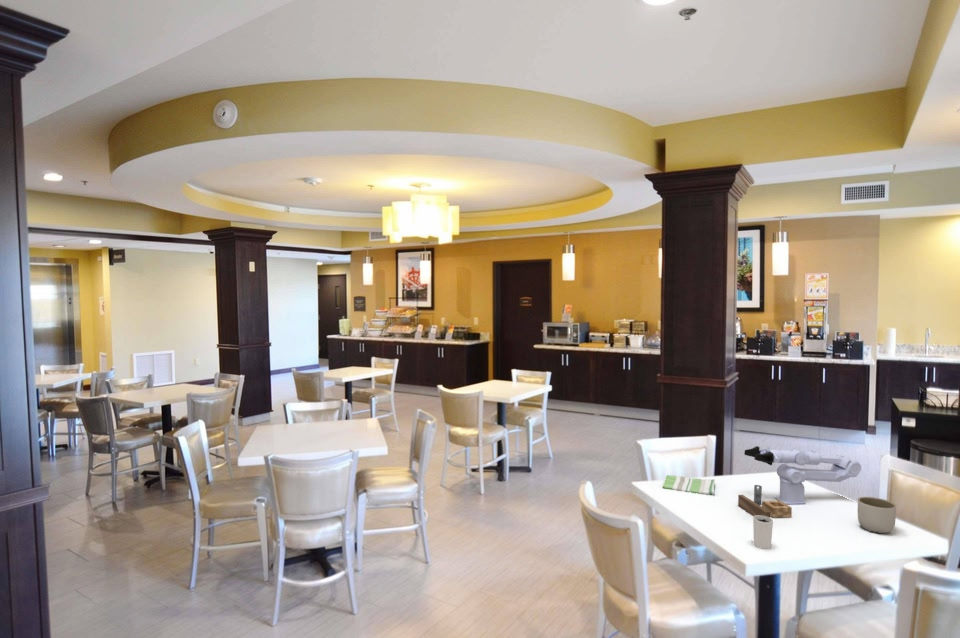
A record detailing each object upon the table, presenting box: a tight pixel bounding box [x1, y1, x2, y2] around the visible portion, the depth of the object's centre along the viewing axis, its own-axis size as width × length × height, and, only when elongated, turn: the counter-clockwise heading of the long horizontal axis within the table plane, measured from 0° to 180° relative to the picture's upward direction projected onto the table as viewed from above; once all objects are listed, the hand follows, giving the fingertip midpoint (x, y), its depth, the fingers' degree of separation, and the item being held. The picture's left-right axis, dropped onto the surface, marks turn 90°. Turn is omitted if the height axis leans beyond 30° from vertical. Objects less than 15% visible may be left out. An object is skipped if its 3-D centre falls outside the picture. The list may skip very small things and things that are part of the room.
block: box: [761, 500, 793, 519], centre depth 238 cm, size 8×8×4 cm
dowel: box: [753, 484, 763, 506], centre depth 250 cm, size 3×3×8 cm
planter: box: [857, 496, 897, 534], centre depth 223 cm, size 12×12×11 cm
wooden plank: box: [737, 494, 771, 518], centre depth 237 cm, size 2×20×5 cm, turn 5°
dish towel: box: [662, 474, 717, 496], centre depth 272 cm, size 17×23×4 cm
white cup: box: [752, 515, 774, 550], centre depth 208 cm, size 7×7×10 cm
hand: (749, 454), depth 250 cm, fingers open, 7 cm apart
